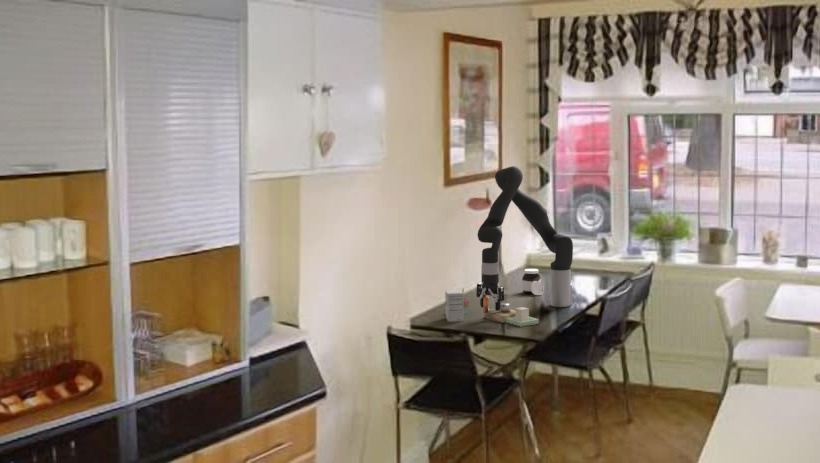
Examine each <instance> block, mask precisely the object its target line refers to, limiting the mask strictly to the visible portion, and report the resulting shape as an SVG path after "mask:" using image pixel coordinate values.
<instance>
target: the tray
mask: <svg viewBox="0 0 820 463" xmlns="http://www.w3.org/2000/svg"><path fill="white" fill-rule="evenodd" d="M539 322H540V321H539V318H535V317H532V316H529V320H527V321H522V322H520V321H517V320H516V317H510V318H506V322H505V323H506V324H508V323H509V325H512V324H513V325H512V326H515V325H516V327H519V326H520V327H519V328H522V327H521V326H523V327H528V326H534V325H538V324H539Z"/></svg>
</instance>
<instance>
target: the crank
mask: <svg viewBox="0 0 820 463" xmlns="http://www.w3.org/2000/svg"><path fill="white" fill-rule="evenodd" d="M489 298H490V297H489V295H486V296H483V308H482V313H489V312H510V311H511V308H512V307H511V306H512V305H511V303H509V302H502V303H500V304H501V306H500V307H501V308H500V310H498V311H496V310H495V308H489V305H490V304H489Z"/></svg>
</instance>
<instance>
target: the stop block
mask: <svg viewBox="0 0 820 463" xmlns="http://www.w3.org/2000/svg"><path fill="white" fill-rule="evenodd" d="M515 309H516V320H517V321H520V322H522V321H527V320H529V317H530V308H529V307H528V308H527V307H524V306H520V307H515Z"/></svg>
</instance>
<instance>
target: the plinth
mask: <svg viewBox="0 0 820 463" xmlns="http://www.w3.org/2000/svg"><path fill="white" fill-rule="evenodd" d="M483 315H484V316H483V318H484V319H487V320H490V321H495V322H498V323H501V324H504V323H506V318H510V317H516V308H515V309H514V308H512V307H511V311H510V312H489V313H484V314H483Z"/></svg>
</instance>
